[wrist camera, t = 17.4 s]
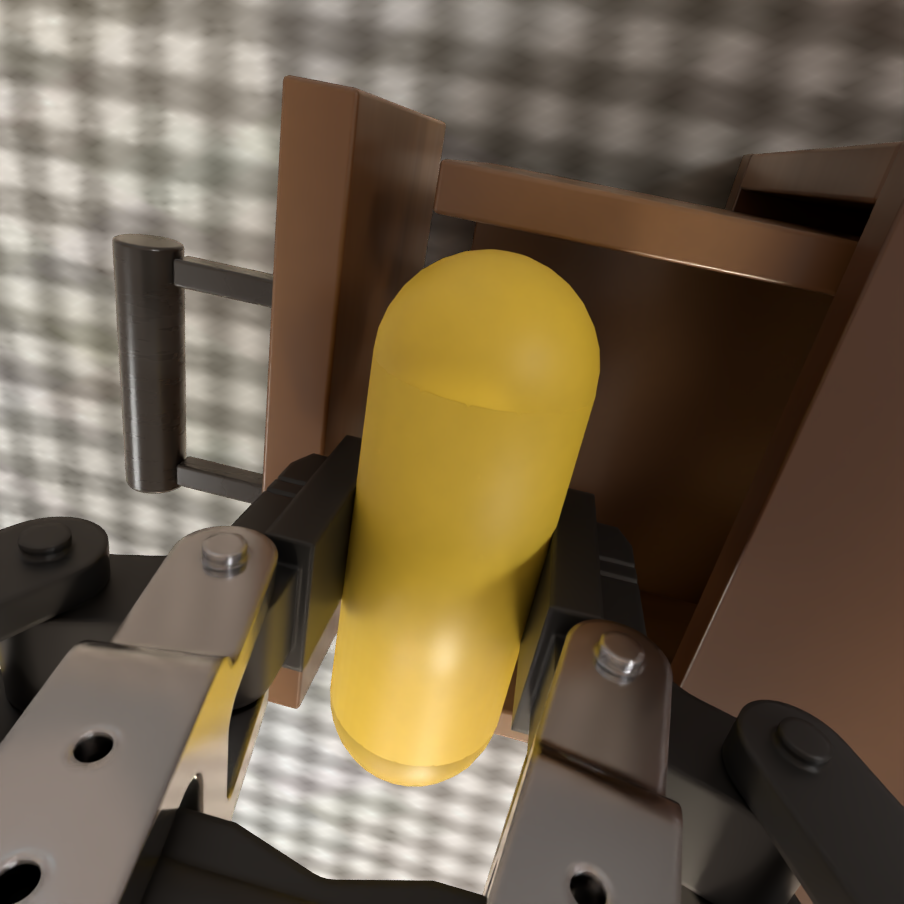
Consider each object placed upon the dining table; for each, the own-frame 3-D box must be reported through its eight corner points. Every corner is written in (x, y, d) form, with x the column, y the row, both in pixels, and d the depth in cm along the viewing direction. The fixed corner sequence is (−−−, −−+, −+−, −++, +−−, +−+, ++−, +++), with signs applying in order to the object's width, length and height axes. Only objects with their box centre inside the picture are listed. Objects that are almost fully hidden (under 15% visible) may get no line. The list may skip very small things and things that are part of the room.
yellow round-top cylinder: (396, 217, 9) (376, 248, 7) (598, 255, 10) (664, 300, 7) (335, 676, 14) (308, 818, 11) (479, 693, 14) (489, 835, 11)
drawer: (218, 503, 22) (67, 647, 15) (225, 79, 16) (-10, 17, 10) (776, 643, 20) (876, 871, 14) (997, 230, 15) (1343, 278, 8)
